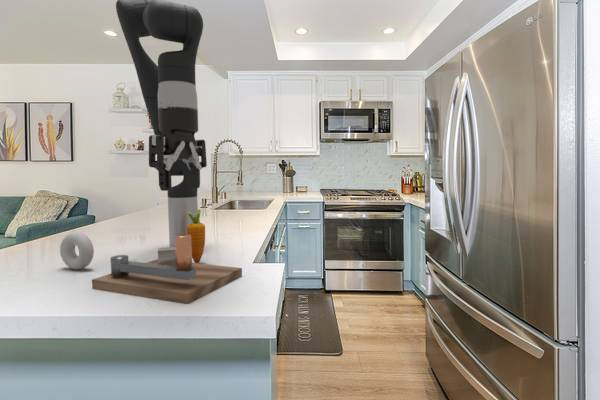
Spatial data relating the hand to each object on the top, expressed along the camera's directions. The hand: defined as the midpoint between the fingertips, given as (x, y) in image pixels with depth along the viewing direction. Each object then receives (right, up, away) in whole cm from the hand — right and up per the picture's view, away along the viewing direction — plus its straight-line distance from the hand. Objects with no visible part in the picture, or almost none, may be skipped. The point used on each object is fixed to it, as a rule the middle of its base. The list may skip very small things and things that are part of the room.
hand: (180, 189), depth 75 cm
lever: (-8, -19, +5) cm, 21 cm away
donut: (-34, -21, +23) cm, 46 cm away
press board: (-6, -21, +11) cm, 24 cm away
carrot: (-4, -20, +27) cm, 34 cm away
